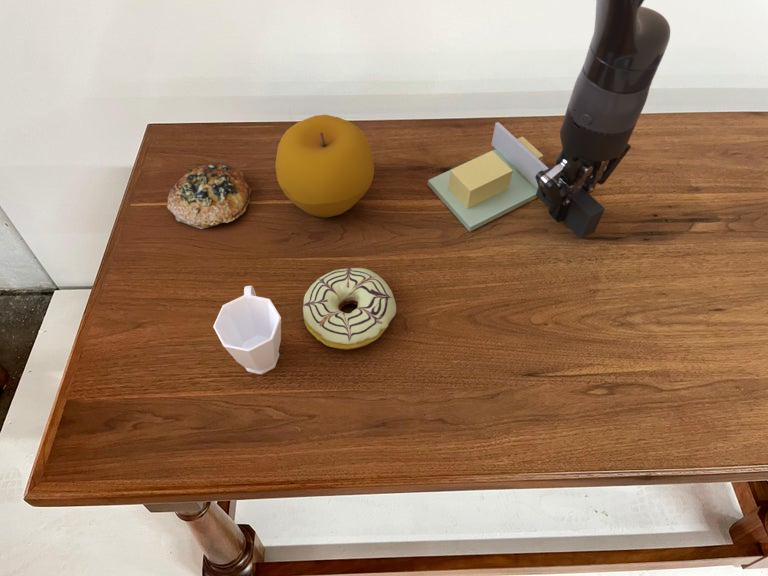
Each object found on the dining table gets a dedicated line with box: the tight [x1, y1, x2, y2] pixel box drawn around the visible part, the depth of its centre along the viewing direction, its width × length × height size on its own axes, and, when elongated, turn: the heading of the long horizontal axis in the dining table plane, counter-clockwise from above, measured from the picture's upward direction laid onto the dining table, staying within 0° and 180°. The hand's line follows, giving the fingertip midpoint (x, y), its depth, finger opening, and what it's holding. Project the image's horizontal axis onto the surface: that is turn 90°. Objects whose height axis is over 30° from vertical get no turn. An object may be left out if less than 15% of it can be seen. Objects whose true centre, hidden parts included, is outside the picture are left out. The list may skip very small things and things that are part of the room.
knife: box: [490, 121, 606, 240], centre depth 80 cm, size 2×20×4 cm, turn 32°
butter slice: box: [516, 136, 544, 163], centre depth 84 cm, size 4×2×4 cm, turn 32°
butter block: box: [448, 150, 513, 209], centre depth 81 cm, size 4×7×4 cm, turn 122°
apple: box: [274, 114, 375, 219], centre depth 78 cm, size 13×13×11 cm
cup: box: [212, 284, 282, 375], centre depth 67 cm, size 7×10×8 cm
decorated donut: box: [302, 267, 397, 350], centre depth 71 cm, size 10×11×4 cm
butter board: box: [427, 148, 539, 232], centre depth 84 cm, size 10×14×1 cm
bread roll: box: [166, 162, 252, 230], centre depth 81 cm, size 11×11×5 cm
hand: (564, 212), depth 80 cm, fingers closed on knife, 2 cm apart
